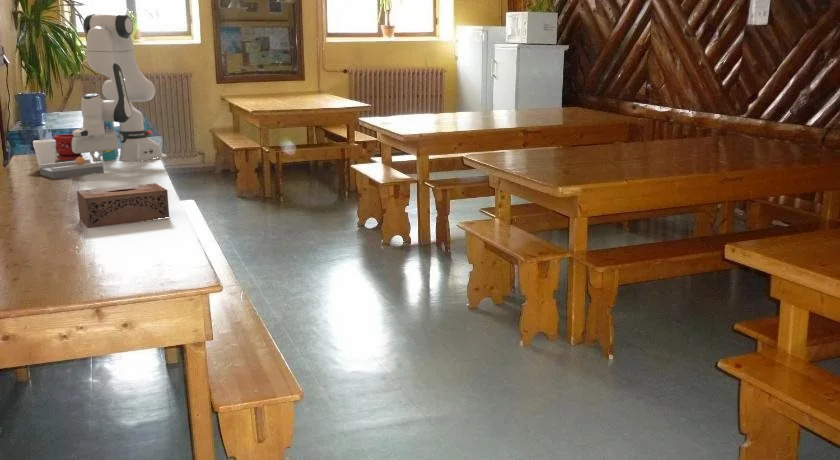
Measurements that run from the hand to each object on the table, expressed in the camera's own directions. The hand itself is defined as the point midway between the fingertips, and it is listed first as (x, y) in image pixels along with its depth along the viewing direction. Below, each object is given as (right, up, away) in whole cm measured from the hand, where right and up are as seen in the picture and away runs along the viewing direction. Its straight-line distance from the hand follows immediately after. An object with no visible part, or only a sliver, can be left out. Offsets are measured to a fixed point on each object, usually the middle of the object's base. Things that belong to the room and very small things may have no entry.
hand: (97, 161), depth 364 cm
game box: (-8, +5, +38) cm, 40 cm away
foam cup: (-24, -3, +5) cm, 25 cm away
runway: (-8, -6, -7) cm, 12 cm away
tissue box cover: (+46, -28, -93) cm, 107 cm away
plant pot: (-26, +4, +33) cm, 43 cm away
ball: (-5, 0, -5) cm, 8 cm away
